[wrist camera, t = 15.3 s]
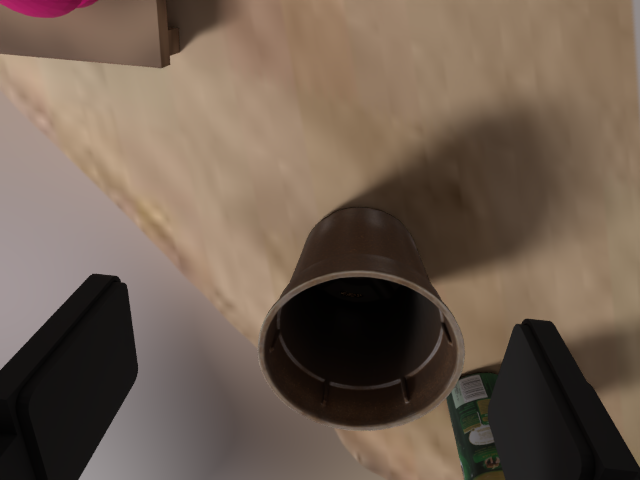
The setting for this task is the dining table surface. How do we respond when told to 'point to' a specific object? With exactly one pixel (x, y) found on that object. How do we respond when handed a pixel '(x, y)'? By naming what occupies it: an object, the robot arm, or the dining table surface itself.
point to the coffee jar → (474, 427)
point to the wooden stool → (95, 34)
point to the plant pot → (360, 328)
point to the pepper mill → (45, 7)
